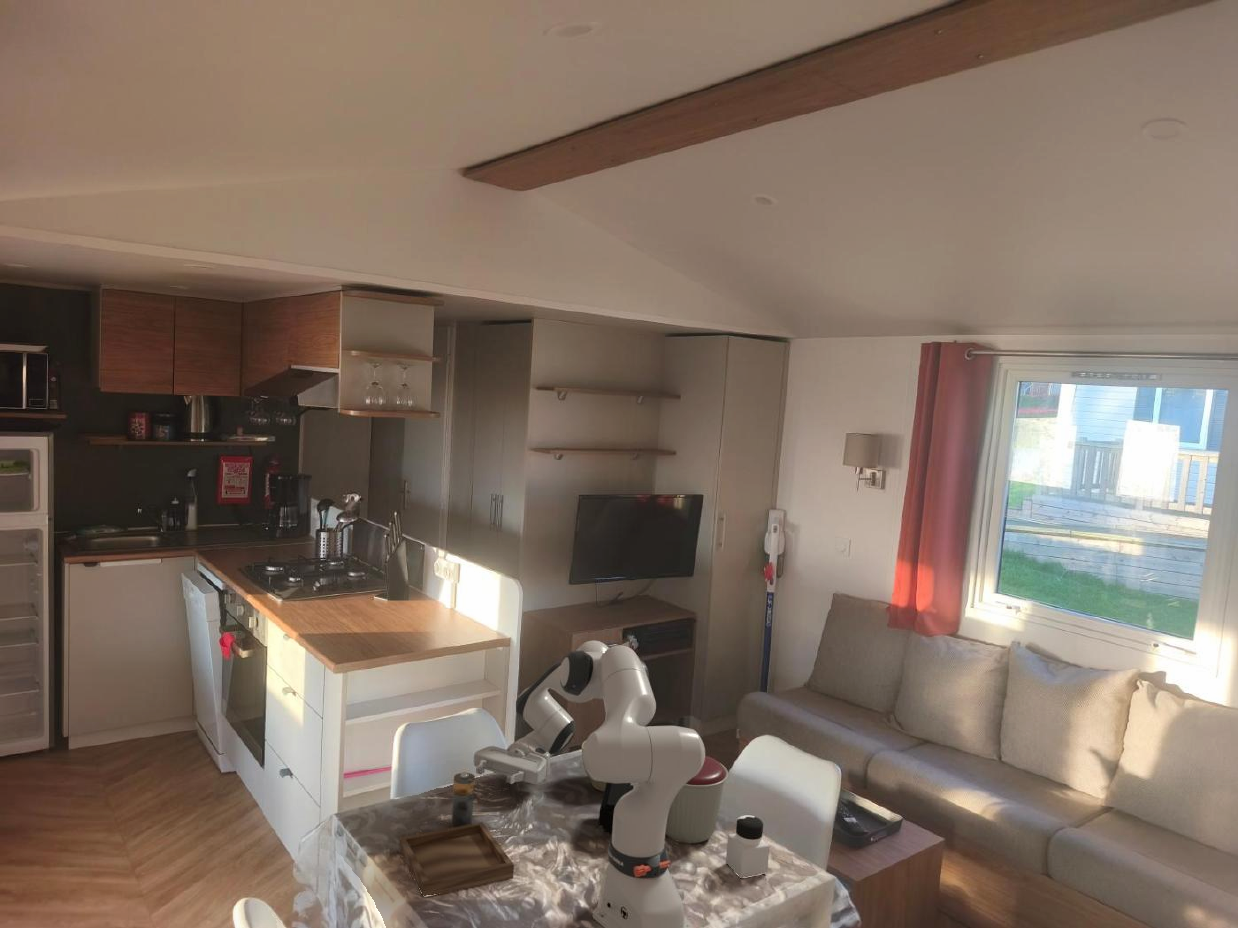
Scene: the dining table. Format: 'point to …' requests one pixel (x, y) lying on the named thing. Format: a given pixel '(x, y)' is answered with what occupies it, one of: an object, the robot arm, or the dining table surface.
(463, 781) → the cell
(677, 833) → the canister
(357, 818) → the dining table surface
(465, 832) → the tray
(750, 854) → the medicine bottle
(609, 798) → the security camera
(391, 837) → the dining table surface
